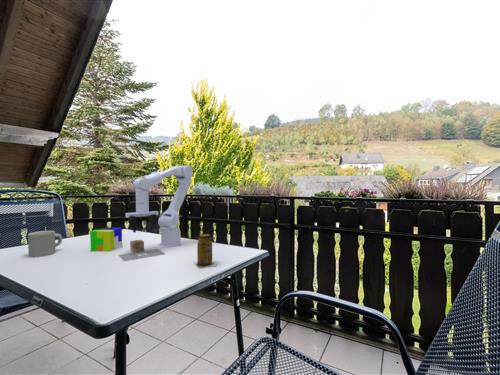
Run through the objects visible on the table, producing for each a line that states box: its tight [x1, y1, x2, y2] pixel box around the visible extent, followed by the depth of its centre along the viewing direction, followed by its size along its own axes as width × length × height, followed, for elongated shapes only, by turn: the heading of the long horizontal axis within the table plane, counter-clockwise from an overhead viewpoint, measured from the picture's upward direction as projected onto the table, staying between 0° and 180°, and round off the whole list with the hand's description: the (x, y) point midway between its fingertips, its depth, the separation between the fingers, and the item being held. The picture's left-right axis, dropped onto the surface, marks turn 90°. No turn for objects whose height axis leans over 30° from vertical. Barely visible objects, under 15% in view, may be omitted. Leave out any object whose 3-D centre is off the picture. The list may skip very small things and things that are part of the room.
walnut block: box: [129, 239, 145, 253], centre depth 131 cm, size 5×5×5 cm
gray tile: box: [118, 248, 166, 262], centre depth 124 cm, size 18×12×1 cm, turn 127°
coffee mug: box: [27, 230, 63, 258], centre depth 127 cm, size 13×10×10 cm
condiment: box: [193, 233, 217, 269], centre depth 111 cm, size 7×8×12 cm
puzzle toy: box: [89, 226, 123, 253], centre depth 134 cm, size 10×10×10 cm
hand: (142, 231), depth 129 cm, fingers open, 7 cm apart
